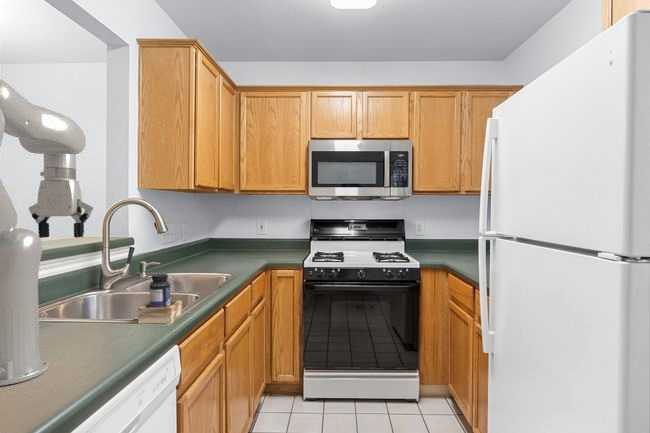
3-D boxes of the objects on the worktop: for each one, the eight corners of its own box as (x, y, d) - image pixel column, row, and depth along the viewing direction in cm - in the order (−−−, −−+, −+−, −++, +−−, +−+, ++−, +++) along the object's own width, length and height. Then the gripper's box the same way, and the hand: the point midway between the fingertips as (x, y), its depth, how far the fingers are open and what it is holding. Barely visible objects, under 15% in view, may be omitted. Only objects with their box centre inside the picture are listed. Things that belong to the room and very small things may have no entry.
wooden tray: (171, 322, 126) (171, 308, 126) (138, 323, 126) (138, 308, 126) (181, 314, 136) (181, 300, 136) (151, 314, 136) (151, 300, 136)
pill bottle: (164, 305, 135) (164, 272, 135) (174, 308, 131) (174, 274, 131) (146, 309, 130) (145, 275, 130) (156, 312, 126) (155, 277, 126)
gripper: (19, 174, 110) (20, 238, 110) (83, 174, 110) (84, 238, 110) (39, 177, 118) (40, 236, 118) (98, 176, 117) (99, 236, 118)
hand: (61, 237), depth 114 cm, fingers open, 9 cm apart
